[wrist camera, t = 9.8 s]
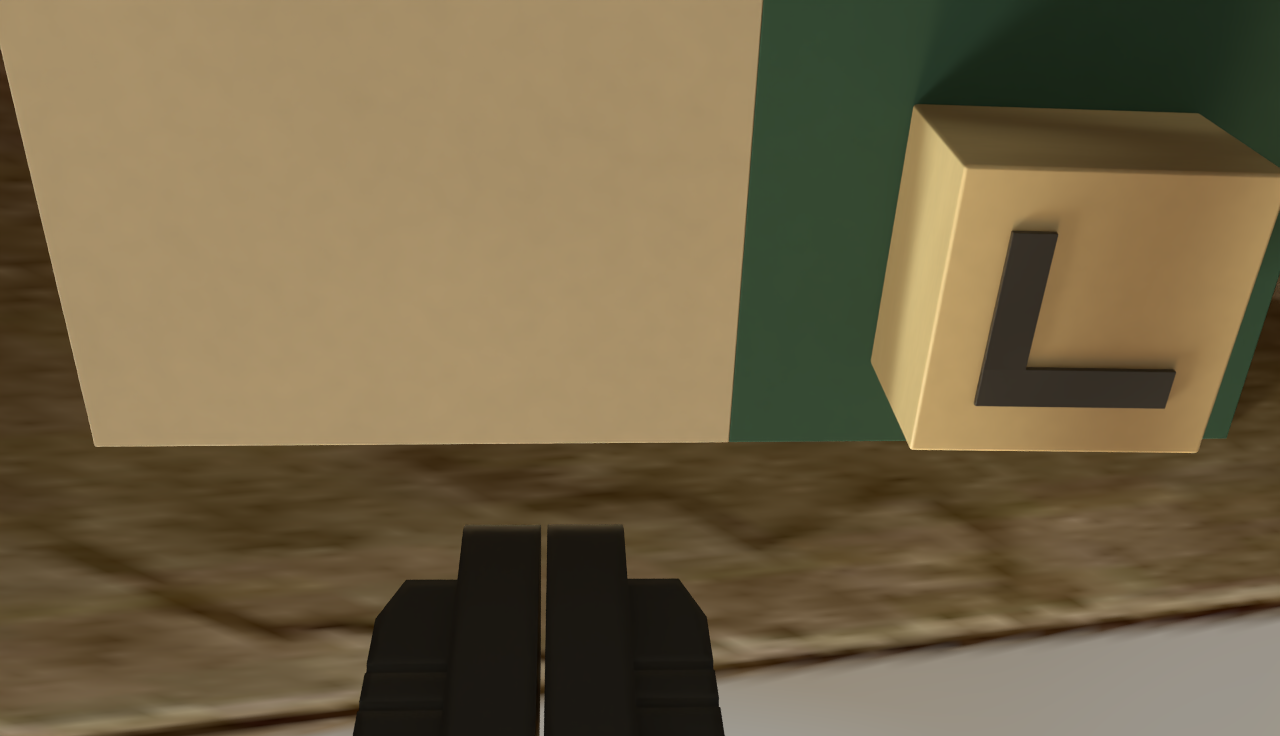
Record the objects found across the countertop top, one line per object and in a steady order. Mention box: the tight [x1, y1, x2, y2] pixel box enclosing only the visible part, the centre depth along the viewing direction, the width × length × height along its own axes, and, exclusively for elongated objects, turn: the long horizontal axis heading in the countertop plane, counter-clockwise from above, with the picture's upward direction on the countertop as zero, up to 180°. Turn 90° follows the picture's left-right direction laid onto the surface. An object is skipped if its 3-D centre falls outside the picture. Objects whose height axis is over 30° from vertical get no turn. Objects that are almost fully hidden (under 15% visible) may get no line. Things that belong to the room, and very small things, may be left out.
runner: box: [0, 0, 1280, 446], centre depth 21 cm, size 22×9×1 cm, turn 88°
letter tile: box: [871, 104, 1280, 453], centre depth 20 cm, size 5×5×3 cm
